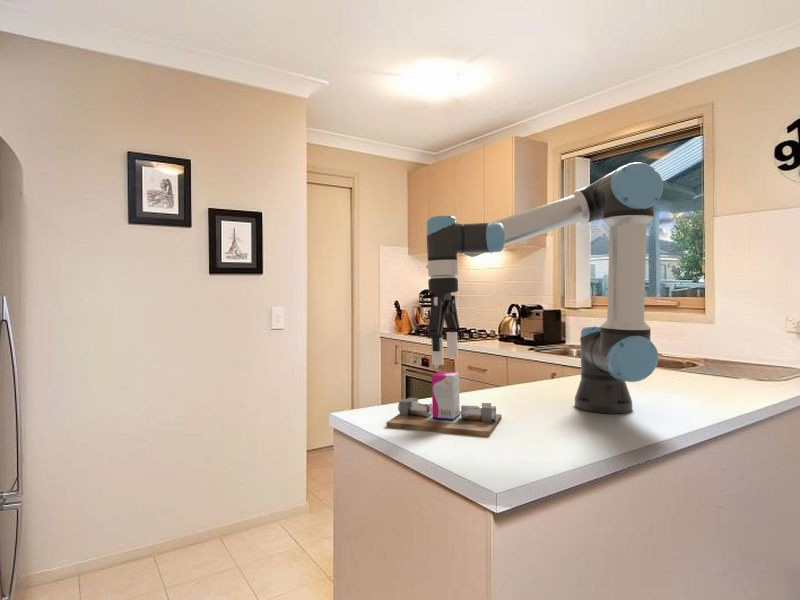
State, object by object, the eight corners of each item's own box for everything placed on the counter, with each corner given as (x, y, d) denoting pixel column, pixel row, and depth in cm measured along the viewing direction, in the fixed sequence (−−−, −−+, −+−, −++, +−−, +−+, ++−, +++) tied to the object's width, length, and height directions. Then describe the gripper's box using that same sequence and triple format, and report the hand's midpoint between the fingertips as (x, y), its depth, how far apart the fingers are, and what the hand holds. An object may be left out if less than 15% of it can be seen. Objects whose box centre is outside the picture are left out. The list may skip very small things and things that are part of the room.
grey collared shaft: (495, 417, 127) (495, 403, 127) (496, 423, 122) (496, 408, 122) (462, 416, 129) (461, 402, 128) (461, 422, 123) (460, 407, 123)
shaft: (434, 414, 131) (434, 400, 131) (424, 419, 127) (424, 404, 127) (407, 410, 136) (406, 396, 136) (396, 415, 132) (396, 400, 132)
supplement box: (460, 415, 129) (459, 371, 129) (453, 421, 124) (453, 375, 123) (439, 413, 131) (438, 370, 131) (431, 419, 126) (431, 374, 126)
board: (501, 419, 130) (501, 413, 130) (489, 436, 115) (489, 430, 115) (408, 411, 140) (408, 406, 140) (386, 427, 125) (386, 421, 125)
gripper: (442, 278, 139) (445, 353, 140) (412, 277, 116) (415, 367, 117) (468, 277, 137) (471, 353, 137) (443, 276, 114) (446, 368, 114)
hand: (445, 360), depth 127 cm, fingers open, 13 cm apart
